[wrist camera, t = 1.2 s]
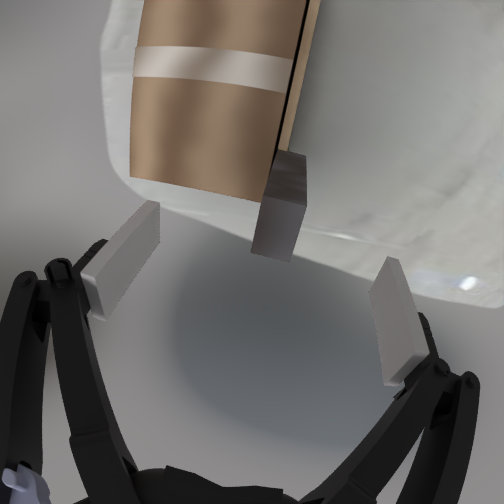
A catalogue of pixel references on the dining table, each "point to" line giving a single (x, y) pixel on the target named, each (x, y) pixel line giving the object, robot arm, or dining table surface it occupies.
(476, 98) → the dining table surface
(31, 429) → the robot arm
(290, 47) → the carton
